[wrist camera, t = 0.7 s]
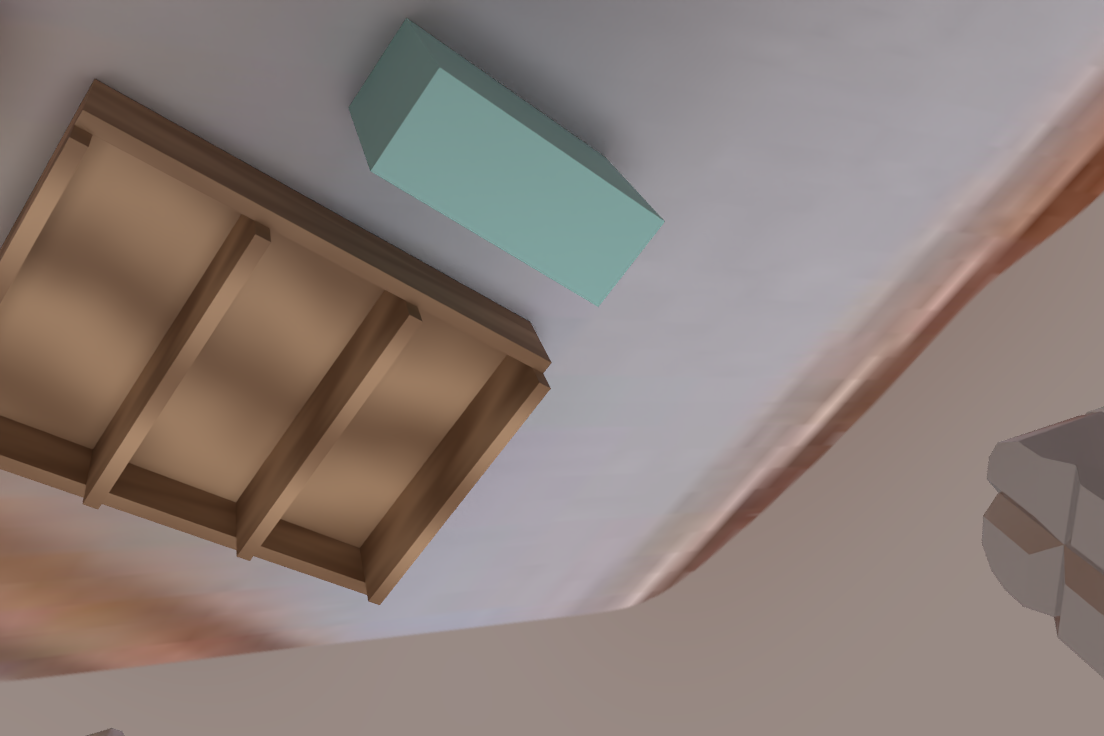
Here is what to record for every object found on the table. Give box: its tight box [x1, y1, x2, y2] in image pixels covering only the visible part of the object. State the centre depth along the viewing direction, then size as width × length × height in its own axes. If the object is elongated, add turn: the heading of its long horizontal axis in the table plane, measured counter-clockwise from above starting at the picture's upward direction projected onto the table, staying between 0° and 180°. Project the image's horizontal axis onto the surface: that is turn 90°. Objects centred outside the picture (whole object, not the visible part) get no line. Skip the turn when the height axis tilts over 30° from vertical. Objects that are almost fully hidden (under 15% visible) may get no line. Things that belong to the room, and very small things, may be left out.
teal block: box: [349, 18, 665, 307], centre depth 37 cm, size 4×10×7 cm, turn 52°
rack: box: [0, 79, 551, 605], centre depth 40 cm, size 14×20×5 cm
